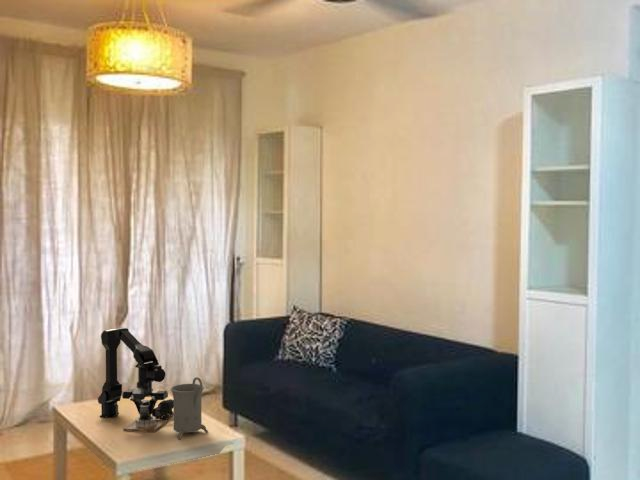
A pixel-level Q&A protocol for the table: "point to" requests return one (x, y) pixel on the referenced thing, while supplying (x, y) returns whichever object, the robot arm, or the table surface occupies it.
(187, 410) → the grey footed pail
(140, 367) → the robot arm
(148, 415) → the lens
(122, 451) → the table surface
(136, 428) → the mount plate
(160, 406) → the night vision scope
